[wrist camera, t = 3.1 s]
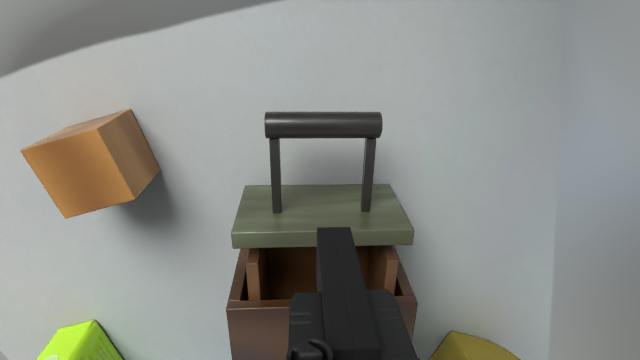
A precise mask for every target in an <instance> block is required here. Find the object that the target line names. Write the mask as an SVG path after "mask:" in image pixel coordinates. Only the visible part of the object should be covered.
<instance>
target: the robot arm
mask: <svg viewBox="0 0 640 360" xmlns="http://www.w3.org/2000/svg"><path fill="white" fill-rule="evenodd" d="M316 280H317V292H299V293H295V294H294V295H293V297H292V299H291V301H290V302H289V340H288V352H287V355H286V360H420V359H419V358H418V357H417V355H416V353H415V351H414V348H413V345H412V342H411V339H410V336H409V334H408V331H407V328H406V325H405V322H404V320H403V317H402V314H401V311H400V308H399V305H398V302H397V300H396V298H395V297H394V296H393V295H392V293H391V292H390V291H389V290H388V289H372V290H366V287H365V283H364V279H363V275H362V271H361V267H360V263H359V259H358V255H357V252H356V248H355V244H354V240H353V236H352V232H351V228H350V227H317V255H316Z"/></svg>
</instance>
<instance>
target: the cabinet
mask: <svg viewBox="0 0 640 360" xmlns="http://www.w3.org/2000/svg"><path fill="white" fill-rule="evenodd" d="M392 246H393V248H394V245H392ZM248 250H249V248H241V249H240V253H239V257H238V262H237V266H236V270H235V274H234V278H233V283H232V287H231V291H230V295H229V300H228V304H227V308H226V312H227V320H228V329H229V337H230V346H231V354H232V360H286V355H287V352H288V340H289V302H290V301H291V299H281V300H249V297H248V286H247V274H246V260H247V255H248ZM394 251H395V253H396V256H397V258H398V269H397V277H396V285H395V293H394V297H395V298H396V300H397V302H398V305H399V308H400V311H401V314H402V317H403V320H404V322H405V325H406V328H407V331H408V334H409V336H410V339H411V342H412V336H413V330H414V323H415V317H416V311H417V305H418V303H417V301H416V298H415V296H414V293H413V291H412V288H411V286H410V284H409V281H408V279H407V276H406V274H405V272H404V269H403V267H402V264H401V262H400V260H399V257H398V255H397V252H396V250H395V248H394Z"/></svg>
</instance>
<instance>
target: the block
mask: <svg viewBox="0 0 640 360" xmlns="http://www.w3.org/2000/svg"><path fill="white" fill-rule="evenodd" d="M21 153H22V154H23V156H24V157H25V159H26V160H27V162H28V163H29V165H30V166H31V168H32V169H33V171H34V173H35V174H36V176H37V177H38V179H39V180H40V182H41V183H42V185H43V186H44V188H45V189H46V191H47V192H48V194H49V195H50V197H51V198H52V200H53V201H54V203H55V204H56V206H57V207H58V209H59V210H60V212H61V213H62V215H63V216H64V218H65V219H66V218H70V217H73V216H77V215H81V214H84V213H88V212H92V211H95V210H99V209H102V208H106V207H110V206H113V205H117V204H121V203H124V202H128V201H131V200H135V199H136V198H137V197H138V196H139V195H140V193H141V192H142V191H143V190H144V189H145V188H146V186H147V185H148V184H149V183H150V182H151V181H152V180H153V178H154V177H155V176H156V175H157V174H158V173H159V171H160V170H161V169H160V167H159V165H158V163H157V161H156V159H155V157H154V155H153V153H152V151H151V149H150V147H149V145H148V143H147V141H146V139H145V137H144V135H143V133H142V131H141V129H140V127H139V125H138V123H137V121H136V119H135V117H134V115H133V113H132V111H131V109H128V110H125V111H121V112H118V113H114V114H111V115H107V116H104V117H101V118H97V119H94V120H90V121H87V122H83V123H80V124H77V125H73V126H70V127H67V128H65V129H63V130H61V131H58V132H56V133H54V134H52V135H50V136H48V137H46V138H44V139H42V140H40V141H38V142H36V143H34V144H32V145H30V146H28V147H26V148H24V149H22V150H21Z"/></svg>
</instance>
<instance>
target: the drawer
mask: <svg viewBox="0 0 640 360" xmlns="http://www.w3.org/2000/svg"><path fill="white" fill-rule="evenodd" d="M381 133H382V115H381V113H380V112H266V113H265V136H266V138H270V139H269V143H270V166H271V185H254V186H245V188H244V191H243V195H242V198H241V201H240V205H239V208H238V212H237V215H236V218H235V222H234V225H233V228H232V232H231V238H232V247H233V248H234V249H237V248H249V250H248V255H247V260H246V274H247V286H248V297H249V300H281V299H292V297H293V295H294V294H295V293H299V292H317V280H316V255H317V227H350V228H351V232H352V236H353V240H354V244H355V248H356V252H357V255H358V259H359V263H360V267H361V271H362V275H363V279H364V283H365V287H366V290H372V289H388V290H389V291H390V292H391V293H392V295H393V296H394V293H395V285H396V277H397V269H398V258H397V256H396V253H395V251H394V248H393V246H392V245H412V243H413V236H414V228H413V226H412V224H411V222H410V221H409V219H408V217H407V215H406V213H405V211H404V210H403V208H402V206H401V204H400V202H399V200H398V199H397V197H396V195H395V193H394V191H393V189H392V188H391V186H390V184H373V173H374V160H375V148H376V138H380V136H381ZM280 138H365V149H364V164H363V178H362V184H343V185H281V168H280Z"/></svg>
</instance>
